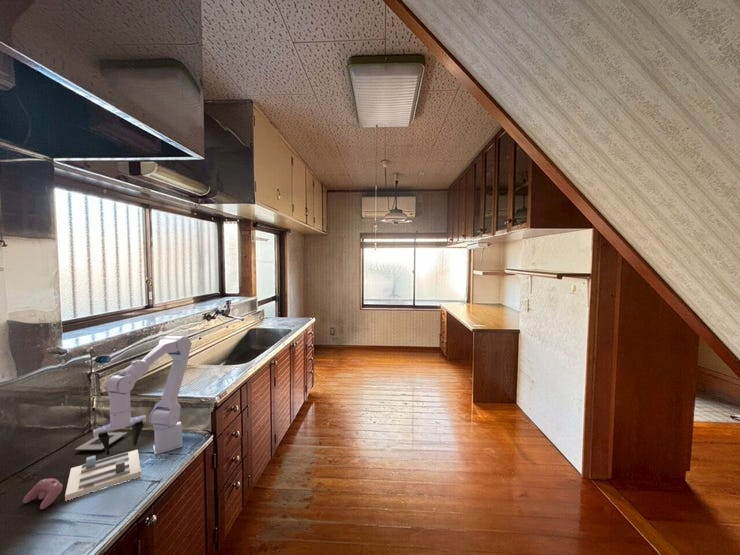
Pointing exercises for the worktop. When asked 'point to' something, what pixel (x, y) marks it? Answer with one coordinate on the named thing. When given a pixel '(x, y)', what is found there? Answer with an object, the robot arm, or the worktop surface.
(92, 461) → the slate tab
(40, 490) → the video game controller
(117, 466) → the charcoal tab
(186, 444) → the worktop surface
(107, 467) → the switch panel
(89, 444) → the electrical outlet
